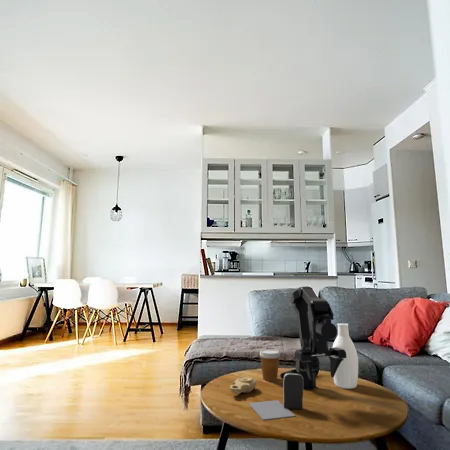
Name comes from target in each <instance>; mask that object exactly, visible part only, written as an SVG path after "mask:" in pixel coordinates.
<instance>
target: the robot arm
mask: <svg viewBox="0 0 450 450" xmlns="http://www.w3.org/2000/svg"><path fill="white" fill-rule="evenodd" d="M290 303H291V304H292V308H293V310H294V311H295V313H296V314H297V322H298V323H297V325H298V331H299V341H300V349H295V351H294V358H295V359H296V362H295V371H296V372H297V373H298V374H300V375H301V376H302V377H303V391H306V390H307V391H309V390H317V389H319V387H318V386H317V381H316V378H317V376H316V373H317V374H319V371H320V363H321V362H320V359H319V357H320V358H321V357H328V359H329V363H330V365H329V366H330V369H329V370H330V377H331V378H333V377H334V375H335V373H336V371H337V369H338V367H339V365H340V363H341V361H343V360H344V359H343V358H347V357H346V351H345V350H344V349H341V348H338V347H333V346H332V347H333V348H332V347H329V342H330V341H331V340H333V339H336V338H337V336H338V328H337V327H336V325H335V324H334V323H332V321H334V319H335V318H334V315H335V314H334V312H333V310H332V307H331V305H330V303H329V301H328V300H326V299H325V298H320V297H319V296H317V294H316V293H315V292H314V291H313V290H312V286H311V287H310V286H301V287H298V288H297V289H296V290H295V291H293V292H292V294H291V296H290ZM309 316H310V319H311V328H310V321H309ZM310 329H311V330H310ZM333 379H334V378H333Z"/></svg>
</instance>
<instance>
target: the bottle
mask: <svg viewBox="0 0 450 450" xmlns="http://www.w3.org/2000/svg"><path fill="white" fill-rule="evenodd" d="M336 325H337V335H336V337H335V340H334V342H333V343H332V347H331V348H333V347H338V348H341V349H344V350H345V351H346V357H347V358H343V359H344V360H343V361H341V363H340V365H339V367H338V369H337V371H336V373H335V375H334V377H333V382H334V383H333V384H334V385H335V386H336V387H338V388H341V389H348V390H349V389H350V390H351V389H355V388H357V386H358V378H359V358H358V357H359V355H358V352H357V349H356V346H355V344H354V342H353V340H352V338H351V337H350V334H349V333H350V332H349V323H345V322H341V323H340V322H339V323H337V324H336Z"/></svg>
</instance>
